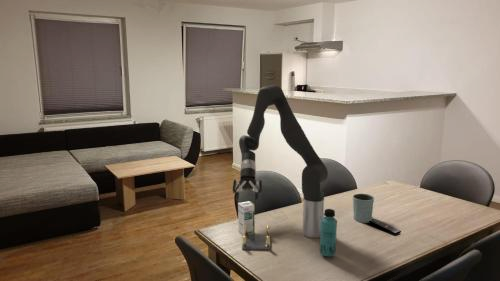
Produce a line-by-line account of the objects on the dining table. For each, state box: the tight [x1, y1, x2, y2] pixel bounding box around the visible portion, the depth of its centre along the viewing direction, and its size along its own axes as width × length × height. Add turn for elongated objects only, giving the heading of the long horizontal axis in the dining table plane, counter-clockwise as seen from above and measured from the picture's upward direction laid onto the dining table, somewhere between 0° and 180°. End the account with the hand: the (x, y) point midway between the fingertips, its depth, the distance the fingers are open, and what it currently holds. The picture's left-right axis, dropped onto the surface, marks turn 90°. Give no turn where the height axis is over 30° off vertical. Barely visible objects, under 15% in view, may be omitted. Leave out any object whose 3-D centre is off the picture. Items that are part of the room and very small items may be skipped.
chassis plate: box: [241, 225, 271, 251], centre depth 162 cm, size 12×12×6 cm
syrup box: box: [237, 200, 256, 237], centre depth 171 cm, size 6×6×14 cm
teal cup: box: [352, 193, 375, 224], centre depth 186 cm, size 10×10×12 cm
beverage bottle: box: [319, 208, 338, 257], centre depth 150 cm, size 6×7×20 cm
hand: (247, 200), depth 176 cm, fingers open, 8 cm apart
